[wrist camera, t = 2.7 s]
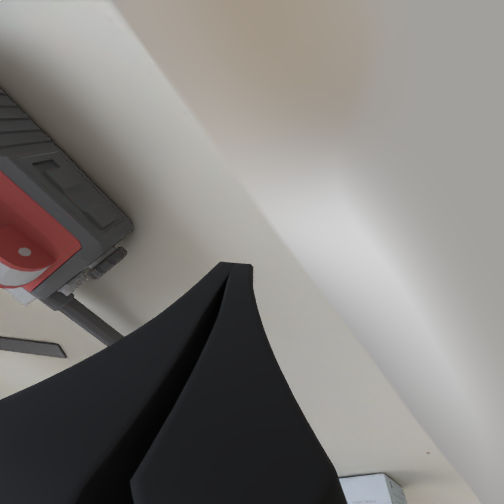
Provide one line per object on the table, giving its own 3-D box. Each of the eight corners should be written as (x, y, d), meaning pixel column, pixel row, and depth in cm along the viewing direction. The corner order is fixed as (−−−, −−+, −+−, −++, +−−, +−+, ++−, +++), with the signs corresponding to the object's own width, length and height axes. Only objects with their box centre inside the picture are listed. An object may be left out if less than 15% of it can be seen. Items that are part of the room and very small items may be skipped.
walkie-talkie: (-159, 115, 11) (144, 350, 19) (-376, 116, 8) (108, 411, 15) (-127, -56, 8) (228, 313, 15) (-491, -204, 4) (209, 379, 11)
